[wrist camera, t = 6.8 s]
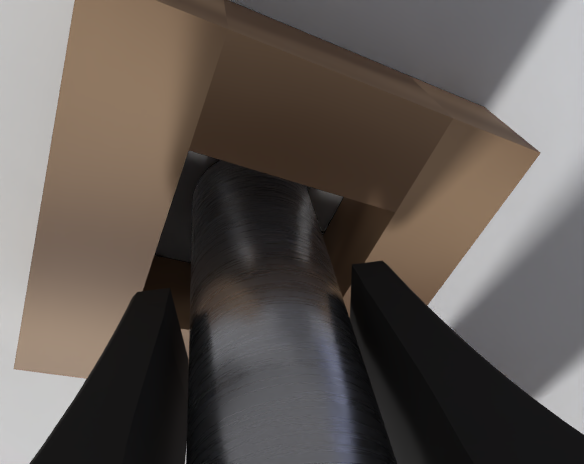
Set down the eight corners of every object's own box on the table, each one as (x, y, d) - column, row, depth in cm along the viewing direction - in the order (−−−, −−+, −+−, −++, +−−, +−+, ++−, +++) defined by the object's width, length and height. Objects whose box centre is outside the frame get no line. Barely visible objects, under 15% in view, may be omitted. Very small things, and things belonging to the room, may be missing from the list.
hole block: (107, -50, 9) (79, -30, 7) (484, 107, 12) (540, 152, 10) (42, 296, 14) (13, 368, 12) (330, 348, 17) (347, 413, 15)
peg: (179, 162, 12) (138, 774, 4) (302, 142, 12) (504, 691, 4) (206, 257, 14) (214, 804, 6) (312, 238, 14) (463, 745, 6)
